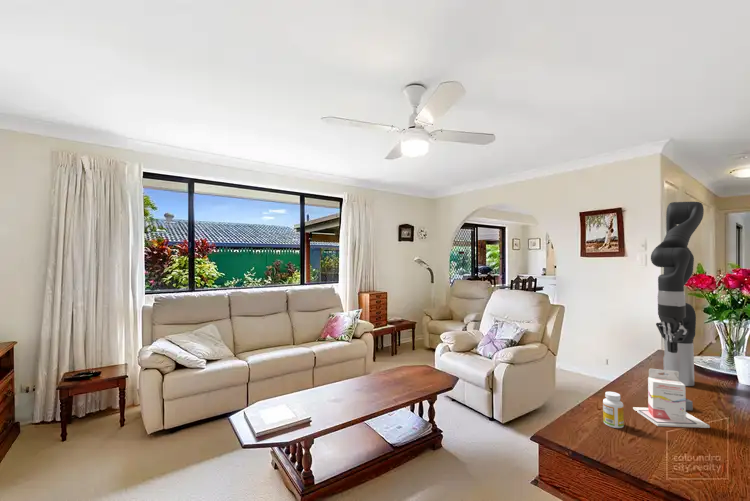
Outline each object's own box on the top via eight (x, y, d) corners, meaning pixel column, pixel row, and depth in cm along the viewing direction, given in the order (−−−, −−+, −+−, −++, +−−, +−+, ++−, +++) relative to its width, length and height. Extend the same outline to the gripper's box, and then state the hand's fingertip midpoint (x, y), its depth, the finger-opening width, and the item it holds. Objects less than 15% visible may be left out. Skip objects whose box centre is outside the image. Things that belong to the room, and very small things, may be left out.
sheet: (633, 409, 120) (632, 406, 120) (679, 410, 119) (679, 407, 119) (657, 426, 108) (657, 423, 108) (709, 427, 107) (709, 424, 107)
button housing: (656, 401, 126) (656, 393, 126) (677, 401, 126) (676, 393, 126) (670, 409, 119) (670, 400, 119) (692, 410, 119) (692, 401, 119)
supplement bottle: (620, 421, 111) (619, 391, 111) (626, 429, 106) (625, 398, 106) (601, 419, 113) (600, 389, 113) (606, 427, 108) (605, 395, 108)
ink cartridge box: (653, 418, 112) (652, 372, 112) (648, 411, 116) (647, 367, 117) (687, 422, 108) (685, 375, 109) (680, 415, 113) (679, 370, 113)
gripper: (647, 301, 130) (648, 347, 130) (674, 306, 117) (675, 357, 117) (668, 301, 129) (670, 347, 129) (698, 306, 116) (699, 357, 116)
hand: (672, 352), depth 123 cm, fingers closed
